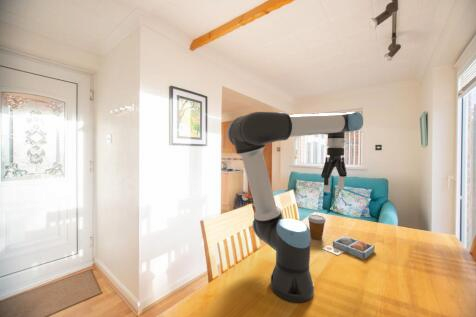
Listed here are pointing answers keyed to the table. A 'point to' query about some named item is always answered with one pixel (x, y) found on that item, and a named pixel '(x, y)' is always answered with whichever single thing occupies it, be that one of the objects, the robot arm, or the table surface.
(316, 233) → the disposable coffee cup
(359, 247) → the terracotta ball
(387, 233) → the table surface
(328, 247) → the tile
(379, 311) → the table surface
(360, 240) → the terracotta ball
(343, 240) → the ball grey
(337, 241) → the rack
